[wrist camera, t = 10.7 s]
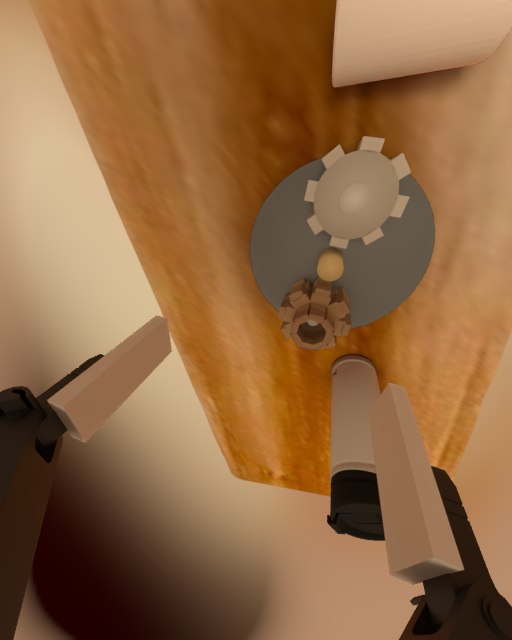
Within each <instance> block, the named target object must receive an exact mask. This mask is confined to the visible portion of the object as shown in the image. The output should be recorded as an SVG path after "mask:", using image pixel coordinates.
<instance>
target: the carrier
mask: <svg viewBox="0 0 512 640" xmlns="http://www.w3.org/2000/svg"><path fill="white" fill-rule="evenodd" d="M384 141H385V139H384V138H376V137H368V136H363V138H362V139H361V141H360V142H359V145H358V148H357V151H354V152H351V153H346V154H344V152H343V150H342V148H341V146H340V144H339V145H338V146H337V147H335V148H334V149H333V150H332V151H331V152H329V153H328V154H327V155H326V156H325V157H323V158H320V159H317V160H315V161H312V162H310V163H308V164H306V165H304V166H302V167H301V168H299V169H297V170H295V171H294V172H293V173H291V174H290V175H289V176H287V177H286V178H285V179H284V180H283V181H282V182H281V183H280V184H279V185H278V186H277V187H276V188H275V189H274V190H273V191H272V192H271V194H270V195H269V196H268V197H267V199H266V201H265V202H264V204H263V205H262V207H261V209H260V211H259V213H258V215H257V218H256V220H255V223H254V227H253V230H252V235H251V241H250V261H251V267H252V272H253V275H254V278H255V281H256V283H257V285H258V287H259V289H260V291H261V292H262V294H263V296H264V297H265V298H266V300H267V301H268V302H269V303H270V304H271V305H272V306H273V307H274V308H275V309H276V310H277V311H278V312H279V310H280V306H281V304H282V302H283V299H284V297H285V295H286V293H287V294H290V291H291V289H292V286H293V284H294V283H296V282H297V281H299V280H301V279H303V278H305V279H306V281H307V282H308V281H309V282H310V284H311V285H312V287H313V285H314V282H315V281H317V279H318V276H319V277H320V278H321V279H323V280H325V281H331V284H332V288H331V290H333V289H335V288H337V289H339V288H341V287H343V288H344V290H345V291H346V293H347V295H348V297H349V303H350V311H351V312H350V317H351V328H356V327H360V326H363V325H366V324H369V323H371V322H373V321H376V320H378V319H380V318H382V317H383V316H385V315H387V314H389V313H390V312H391V311H393V310H394V309H395V308H397V307H398V306H399V305H400V304H401V303H402V302H404V301H405V300H406V299H407V298H408V297H409V295H410V294H411V293H412V292H413V291H414V290H415V288H416V287H417V285H418V284H419V282H420V281H421V279H422V278H423V276H424V274H425V272H426V270H427V268H428V265H429V262H430V259H431V256H432V252H433V247H434V240H435V226H434V218H433V213H432V210H431V207H430V203H429V201H428V199H427V197H426V195H425V193H424V191H423V190H422V188H421V187H420V186H419V184H418V183H417V182H416V180H415V179H414V178H413V177H412V176H410V175H409V174H410V173H411V170H410V168H409V165H408V163H407V161H406V158H405V156H404V153H401V154H399V155H396V156H394V157H392V158H390V159H388V158H387V157H385V156H384V155H382V154H381V153H380V152H381V149H382V146H383V144H384ZM307 323H308V324H309V325H310V326H316V325H318V323H317V322H314V321H310V320H309V321H307ZM351 328H350V329H351Z"/></svg>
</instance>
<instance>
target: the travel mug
mask: <svg viewBox="0 0 512 640" xmlns="http://www.w3.org/2000/svg"><path fill="white" fill-rule="evenodd" d="M380 395H381V393H380V389H379V384H378V379H377V375H376V370H375V367H374V365H373V363H372V362H371V361H370V360H368V359H366V358H365V357H362V356H358V355H346V356H343V357H340V358H339V359H337V360H336V361H335V362H334V364H333V366H332V399H331V467H330V473H331V475H330V482H331V513H330V516H329V515H327V522H328V524H329V525H330V526H331V527H332V528H333V529H334V530H335V531H336V532H337V533H338V534H345V533H346V534H348V535H351V536H354V537H357V538H361V539H366V540H375V541H379V540H380V541H384V540H385V534H384V526H383V519H382V511H381V504H380V496H379V489H378V481H377V474H376V466H375V459H374V451H373V444H372V436H371V429H370V421H369V414H368V413H369V412H370V410H371V409H372V407H373V406H374V404H375V403H376V401H377V400H378V398H379V397H380Z"/></svg>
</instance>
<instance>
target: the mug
mask: <svg viewBox="0 0 512 640" xmlns="http://www.w3.org/2000/svg"><path fill="white" fill-rule="evenodd" d="M511 29H512V0H337V2H336V15H335V30H334V45H333V63H332V85H333V87H335V88H336V87H342V86H348V85H354V84H360V83H366V82H372V81H378V80H384V79H390V78H396V77H402V76H409V75H415V74H421V73H427V72H433V71H439V70H445V69H451V68H457V67H463V66H469V65H475V64H479V63H481V62H483V61H484V60H486V59H487V58H488V57H489V56H490V55H491V54H492V53H493V52H494V51H495V50H496V49H497V48H498V47H499V45H500V44H501V43H502V42H503V40H504V39H505V38H506V36H507V35H508V33H509V32H510V30H511Z"/></svg>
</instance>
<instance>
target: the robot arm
mask: <svg viewBox="0 0 512 640" xmlns="http://www.w3.org/2000/svg"><path fill="white" fill-rule="evenodd" d="M170 352H171V343H170V335H169V328H168V321H167V318H163V317H160V316H155V317H154V318H153V319H151V320H150V321H149V322H147V323H146V324H145V325H144V326H142V327H141V328H140V329H139V330H137V331H136V332H135V333H133V334H132V335H131V336H129V337H128V338H127V339H126V340H124V341H123V342H122V343H120V344H119V345H118V346H117V347H115V348H114V349H113V350H111V351H110V352H109V353H107V354H106V355H102V354H99V355H97V356H95V357H93V358H90V359H88V360H87V361H86V362H84V363H83V364H82V365H80V366H79V368H76V369H75V370H74V371H72V372H71V374H68V375H67V376H66V377H64V378H63V379H61V380H60V381H59V382H57V383H56V384H55V385H53V386H52V387H51V388H49V389H48V390H47V391H45V392H44V393H43V394H41V395H40V396H38V397H37V398H35V397H34V395H33V394H32V393H31V391H30V390H29V389H28V388H27V387H23V386H20V387H12V388H9V389H6V390H3V391H1V392H0V640H13V639H14V634H15V630H16V626H17V622H18V618H19V614H20V610H21V606H22V602H23V598H24V594H25V590H26V586H27V582H28V578H29V574H30V570H31V566H32V562H33V558H34V554H35V550H36V546H37V542H38V538H39V534H40V530H41V526H42V521H43V517H44V514H45V510H46V505H47V501H48V498H49V494H50V490H51V486H52V481H53V477H54V473H55V469H56V465H57V461H58V457H59V453H60V449H61V445H62V441H63V436H62V434H64V433H65V432H66V431H68V432H69V433H70V435H71V436H72V437H73V438H75V439H78V440H80V441H82V442H85V443H86V441H88V439H89V438H90V437H91V436H92V435H93V434H94V433H95V432H96V431H97V430H98V429H99V428H100V427H101V426H102V425H103V423H104V422H105V421H106V420H107V419H108V418H109V417H110V416H111V415H112V414H113V413H114V412H115V411H116V410H117V409H118V408H119V407H120V406H121V404H122V403H123V402H124V401H125V400H126V399H127V398H128V397H129V396H130V395H131V394H132V393H133V392H134V391H135V390H136V389H137V387H138V386H139V385H140V384H141V383H142V382H143V381H144V380H145V379H146V378H147V377H148V376H149V375H150V374H151V373H152V371H153V370H154V369H155V368H156V367H157V366H158V365H159V364H160V363H161V362H162V361H163V360H164V359H165V358H166V357H167V356H168V355H169V353H170ZM368 414H369V421H370V429H371V436H372V444H373V451H374V459H375V466H376V474H377V481H378V489H379V496H380V504H381V511H382V519H383V526H384V534H385V541H386V549H387V556H388V564H389V571H390V575H392V576H395V577H397V578H399V579H401V580H404V581H406V582H408V583H411V584H417V583H420V582H423V585H424V590H425V595H421V596H417V597H414V598H413V599H412V600H411V601H410V602H411V603H412V604H413V605H417V604H418V606H417V608H416V610H415V611H414V613H413V615H412V617H411V619H410V621H409V622H408V624H407V626H406V628H405V629H404V631H403V633H402V635H401V637H400V639H399V640H512V607H511V605H510V604H509V603H508V602H507V600H506V599H505V598H503V596H501V595H500V594H499V593H498V591H497V589H496V588H495V586H494V583H493V581H492V579H491V577H490V574H489V572H488V569H487V567H486V564H485V561H484V559H483V556H482V554H481V551H480V548H479V546H478V543H477V541H476V538H475V535H474V533H473V530H472V527H471V525H470V522H469V521H468V520H467V518H468V517H467V514H466V512H465V509H464V507H462V501H461V499H460V496H459V493H458V491H457V488H456V486H455V485H454V483H453V482H452V480H451V479H450V477H449V476H448V474H447V473H446V472H445V470H442V469H439V468H436V467H433V466H431V465H430V462H429V459H428V456H427V453H426V450H425V447H424V444H423V441H422V437H421V434H420V431H419V428H418V425H417V422H416V419H415V416H414V413H413V410H412V407H411V403H410V400H409V397H408V394H407V391H406V388H405V387H404V386H400V385H397V384H393V383H390V382H389V384H388V385H387V387H386V388H385V390H384V391H383V393H382V394H381V395H380V397H379V398H378V400H377V401H376V403H375V404H374V406H373V407H372V409H371V410H370V412H369V413H368Z"/></svg>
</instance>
